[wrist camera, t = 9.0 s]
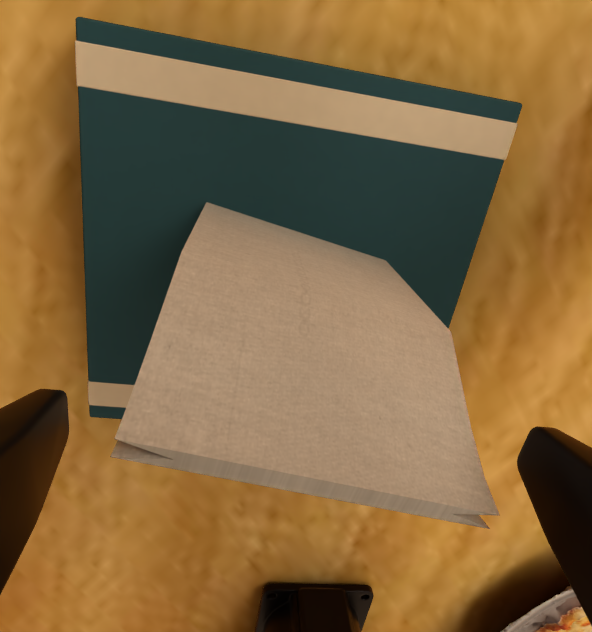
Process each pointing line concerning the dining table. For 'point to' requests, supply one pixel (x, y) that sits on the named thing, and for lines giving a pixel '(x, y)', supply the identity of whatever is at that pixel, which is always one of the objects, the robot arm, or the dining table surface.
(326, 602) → the robot arm
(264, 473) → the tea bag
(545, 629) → the food plate
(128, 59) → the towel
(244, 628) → the dining table surface
